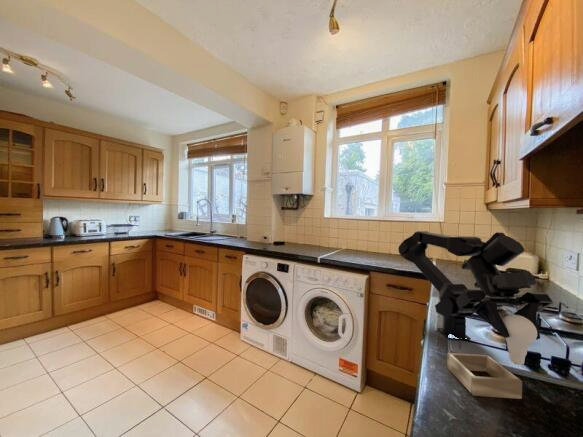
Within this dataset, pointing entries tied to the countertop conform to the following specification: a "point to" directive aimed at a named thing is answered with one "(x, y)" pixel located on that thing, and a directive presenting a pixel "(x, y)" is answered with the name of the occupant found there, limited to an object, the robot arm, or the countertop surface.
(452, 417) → the countertop surface
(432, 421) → the countertop surface
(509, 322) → the lightbulb
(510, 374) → the tray
